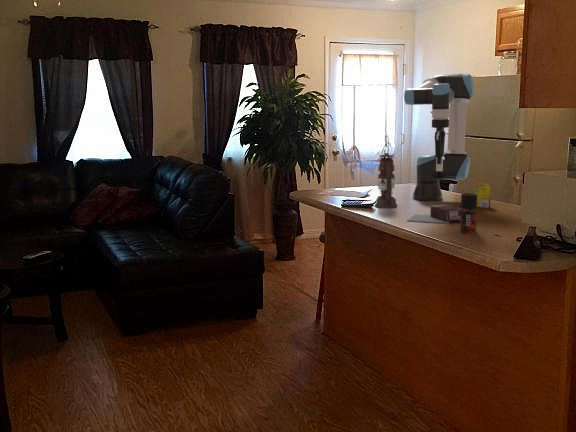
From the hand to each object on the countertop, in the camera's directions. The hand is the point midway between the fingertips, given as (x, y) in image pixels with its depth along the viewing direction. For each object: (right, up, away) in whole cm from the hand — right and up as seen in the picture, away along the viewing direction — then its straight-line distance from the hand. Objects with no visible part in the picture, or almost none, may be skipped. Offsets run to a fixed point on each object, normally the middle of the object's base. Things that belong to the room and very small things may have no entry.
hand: (439, 170), depth 284 cm
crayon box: (+25, -16, +19) cm, 35 cm away
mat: (-6, -22, -10) cm, 25 cm away
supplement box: (-1, -18, -3) cm, 18 cm away
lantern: (-20, -16, +25) cm, 36 cm away
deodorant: (+2, -27, -37) cm, 46 cm away
